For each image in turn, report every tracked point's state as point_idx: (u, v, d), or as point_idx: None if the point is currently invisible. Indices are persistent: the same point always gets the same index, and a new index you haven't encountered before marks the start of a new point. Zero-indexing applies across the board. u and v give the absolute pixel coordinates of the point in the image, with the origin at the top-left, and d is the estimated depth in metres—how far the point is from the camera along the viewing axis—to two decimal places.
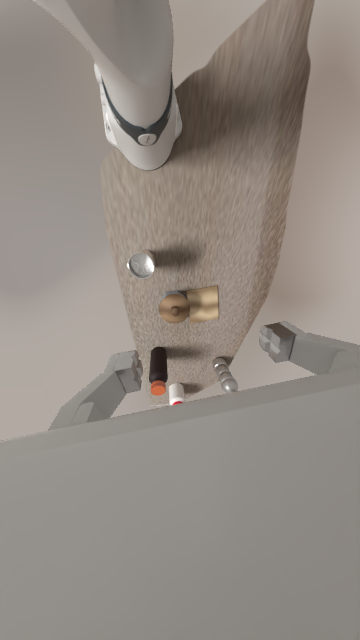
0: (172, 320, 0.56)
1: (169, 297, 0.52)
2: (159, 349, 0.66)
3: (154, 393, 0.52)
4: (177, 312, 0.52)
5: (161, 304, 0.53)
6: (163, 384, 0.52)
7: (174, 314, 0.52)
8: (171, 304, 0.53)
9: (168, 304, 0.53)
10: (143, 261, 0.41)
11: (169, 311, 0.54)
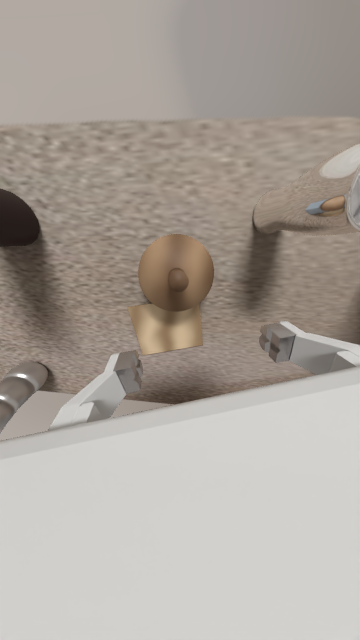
0: (146, 270, 0.22)
1: (208, 264, 0.22)
2: (29, 223, 0.21)
3: None
4: (179, 287, 0.20)
5: (192, 242, 0.21)
6: None
7: (174, 279, 0.20)
8: (190, 269, 0.22)
9: (191, 261, 0.22)
10: None
11: (172, 263, 0.22)
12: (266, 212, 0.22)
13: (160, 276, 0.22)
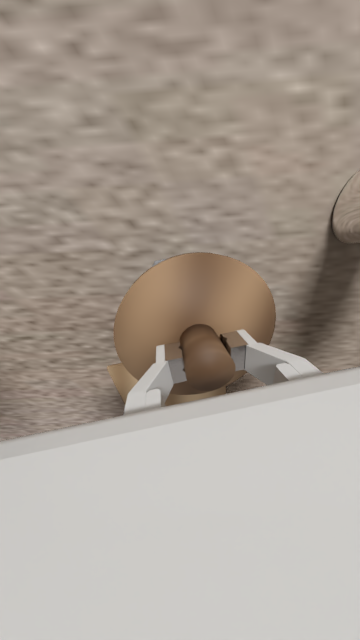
0: (132, 333, 0.10)
1: (265, 314, 0.10)
2: None
3: None
4: (212, 382, 0.08)
5: (238, 271, 0.09)
6: None
7: (201, 368, 0.08)
8: (227, 324, 0.10)
9: (230, 310, 0.10)
10: None
11: (189, 316, 0.10)
12: None
13: (163, 341, 0.10)
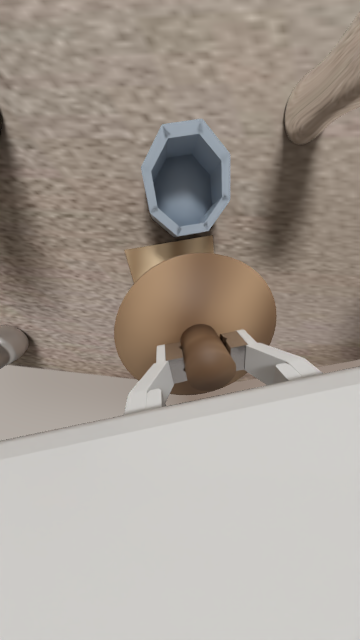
0: (132, 333, 0.10)
1: (266, 314, 0.10)
2: None
3: None
4: (213, 382, 0.08)
5: (239, 271, 0.09)
6: None
7: (202, 369, 0.08)
8: (228, 324, 0.10)
9: (231, 310, 0.10)
10: None
11: (189, 316, 0.10)
12: (307, 93, 0.17)
13: (163, 341, 0.10)
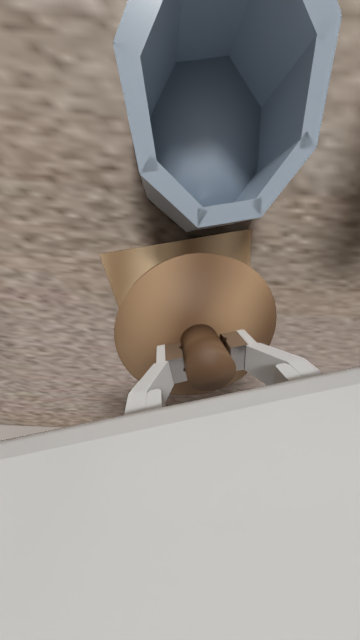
0: (132, 333, 0.10)
1: (266, 314, 0.10)
2: None
3: None
4: (213, 382, 0.08)
5: (239, 271, 0.09)
6: None
7: (202, 369, 0.08)
8: (228, 324, 0.10)
9: (231, 310, 0.10)
10: None
11: (190, 316, 0.10)
12: None
13: (163, 341, 0.10)
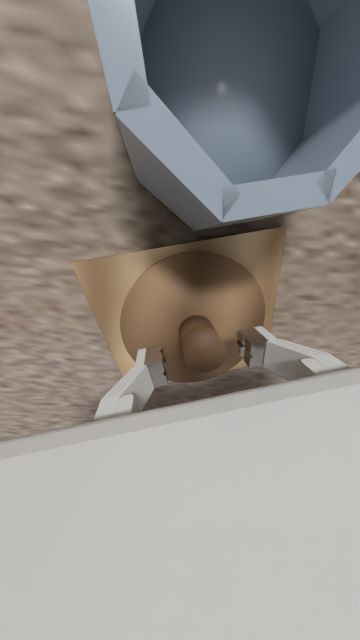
0: (136, 323, 0.11)
1: (256, 306, 0.11)
2: None
3: None
4: (207, 364, 0.09)
5: (230, 267, 0.10)
6: None
7: (197, 351, 0.09)
8: (221, 315, 0.11)
9: (224, 302, 0.11)
10: None
11: (187, 307, 0.11)
12: None
13: (164, 331, 0.11)
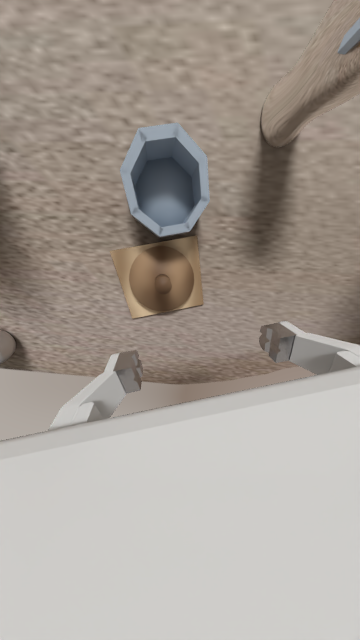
0: (136, 277, 0.25)
1: (188, 270, 0.26)
2: None
3: None
4: (164, 290, 0.24)
5: (174, 252, 0.24)
6: None
7: (159, 283, 0.23)
8: (173, 274, 0.26)
9: (173, 268, 0.26)
10: None
11: (157, 270, 0.25)
12: (280, 99, 0.17)
13: (148, 281, 0.26)
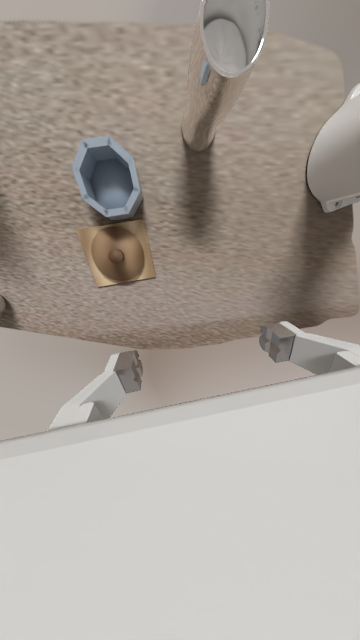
0: (96, 251, 0.33)
1: (138, 246, 0.33)
2: None
3: None
4: (116, 260, 0.31)
5: (124, 231, 0.32)
6: None
7: (111, 254, 0.31)
8: (126, 250, 0.33)
9: (126, 244, 0.33)
10: (225, 69, 0.18)
11: (113, 246, 0.33)
12: (186, 117, 0.25)
13: (106, 255, 0.33)
